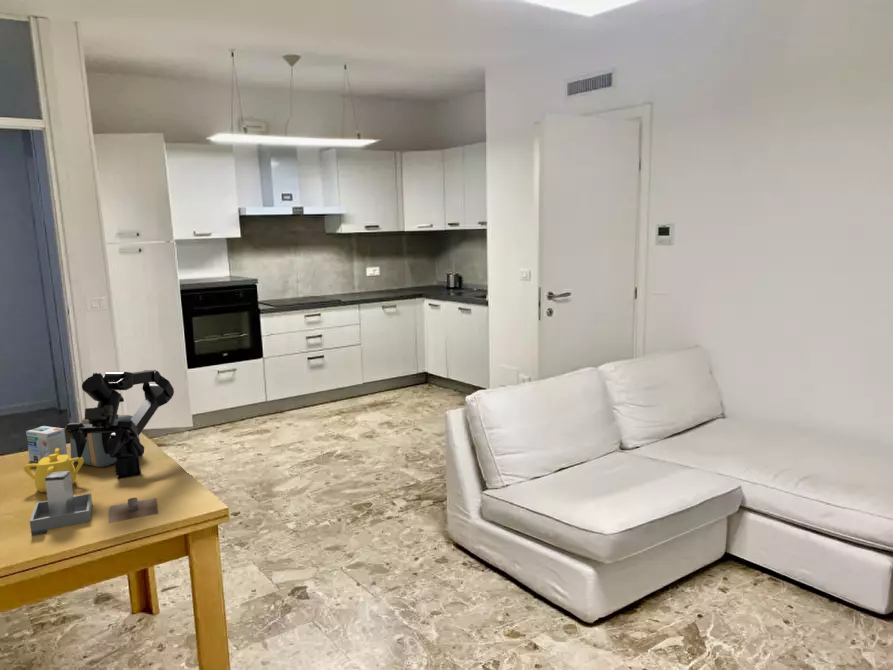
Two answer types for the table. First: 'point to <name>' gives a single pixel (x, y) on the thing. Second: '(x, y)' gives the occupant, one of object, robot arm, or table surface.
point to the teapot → (53, 468)
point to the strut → (60, 493)
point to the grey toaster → (96, 446)
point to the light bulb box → (45, 442)
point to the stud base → (126, 515)
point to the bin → (44, 522)
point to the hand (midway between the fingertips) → (95, 456)
